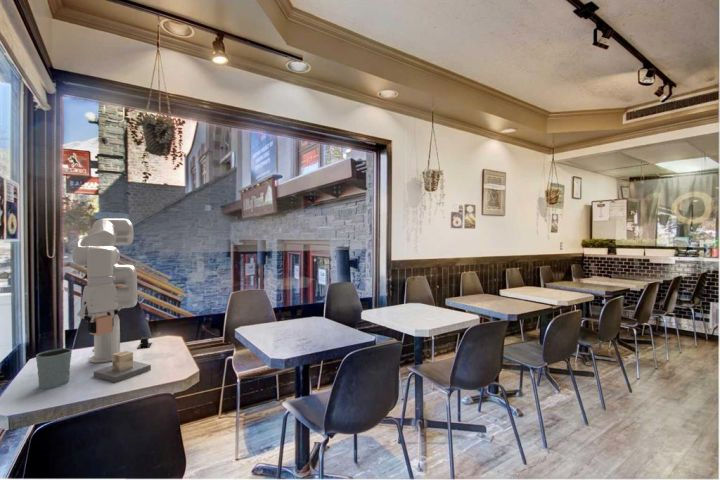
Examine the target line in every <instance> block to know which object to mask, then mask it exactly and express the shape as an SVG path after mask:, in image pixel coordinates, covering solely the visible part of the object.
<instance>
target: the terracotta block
mask: <svg viewBox="0 0 720 480" xmlns="http://www.w3.org/2000/svg"><path fill="white" fill-rule="evenodd" d="M94 322H96V333H90V332H89V335H92V336H94V335H97V336H99V335H103V334H107V333H111V332H113V318H112V316H110V315H100V316H96V317H95V320H94Z"/></svg>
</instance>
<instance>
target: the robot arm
mask: <svg viewBox="0 0 720 480" xmlns="http://www.w3.org/2000/svg"><path fill="white" fill-rule="evenodd" d="M134 234H135V232H134V226H133V223H132V221H130V220H129V219H127V218H100V219H97V220H96V221H95V222H94V223H93V224H92V227H91V228H90V229H89V230H88V232H87V235H84V236H83V237H81V238H79V239H77V241H76V242H75V243H74V246H73V250H72V257H71V258H72V261H73V264H74V265H75V266H78V267H86V268H87V269H86V272H87V273H86V275H87V277H86V278H87V282H86V283H87V285H85V286H84V287H83V288H84V289H83V291H82V299H81V309H80V310H79V311H78V312H77V314H76V316H77V317H80V318H81V319H83V320H84V321H86V322H87V330H88V333H89V334H90V333H96V322H94V320H95V317H96V316H100V315H110V316H112V318H113V332H111V333H107V334H103V335H99V336H97V335H93V346H94V348H93V349H92V350H91V351H92V353H93V355H92V356H91V357H90V358H89V362H90V363H95V364H100V363H103V364H104V363H107V362H112V354H116V353H119V352H122V350H121V331H120V330H121V326H120V323H121V321H120V317H119V315H118V314H119V312H120V311H121V310H122V309H129V308H133V307H135V306H136V305H137V304H138V298H139V297H138V295H139V294H138V273H137V269H136V267H135V266H134V265H132V264H119V263H118V262H119V261H120V257H121V253H120V250H119V249H118V248H117V247H116V246H128V245H129V246H130V245H131V244H133V241H134ZM117 286H125V287H117ZM86 314H87V315H86Z"/></svg>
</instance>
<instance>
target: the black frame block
mask: <svg viewBox="0 0 720 480" xmlns="http://www.w3.org/2000/svg"><path fill="white" fill-rule="evenodd" d="M152 344H153V342H149V336H143V337H142V336H141V338H140V342H139V345H138V346H137V348H136V350H141V349H142V350H143V349H150V347H151V346H152Z"/></svg>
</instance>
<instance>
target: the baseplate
mask: <svg viewBox="0 0 720 480" xmlns="http://www.w3.org/2000/svg"><path fill="white" fill-rule="evenodd" d="M150 370H152V364H149V363H144V362H139V361H137V360H136V361H135V360H133V367H131V368H128V369H125V370H123V371H117V370H113V366H112V365H110V366H106V367H103V368H100V369H97V370H94V371H93V377H94V378H98V379H101V380H105V381H108V382H112V383H118V382H121V381H123V380H126V379H129V378H132V377H134V376H137V375H140V374H143V373H145V372H148V371H150Z"/></svg>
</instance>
